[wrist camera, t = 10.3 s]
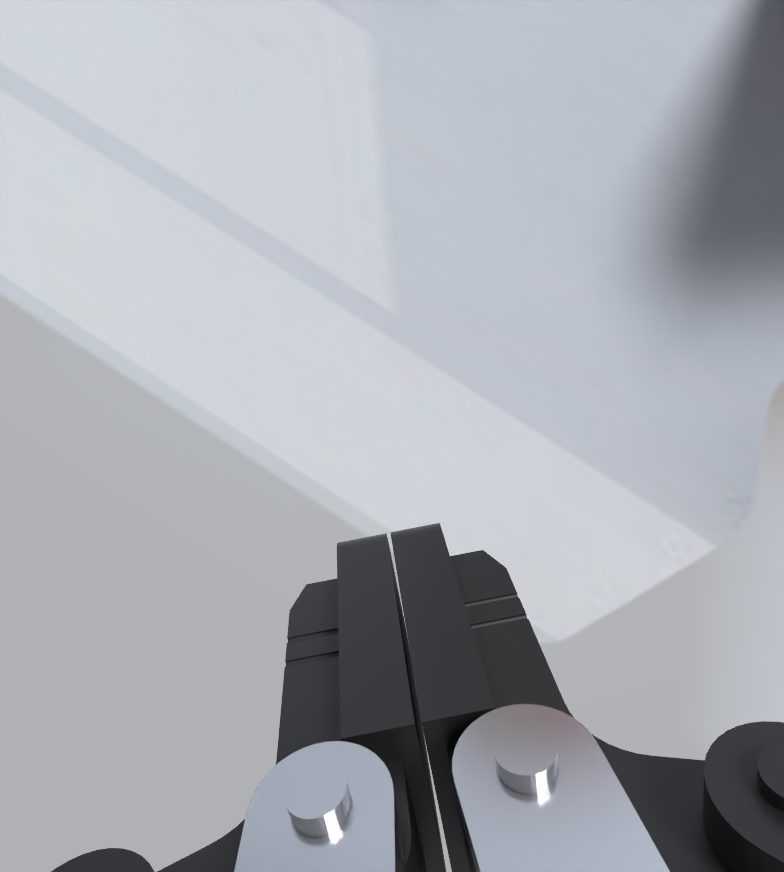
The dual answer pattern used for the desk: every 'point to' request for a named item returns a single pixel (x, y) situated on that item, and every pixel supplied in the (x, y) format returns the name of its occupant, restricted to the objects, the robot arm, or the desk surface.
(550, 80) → the desk surface
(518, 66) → the desk surface
